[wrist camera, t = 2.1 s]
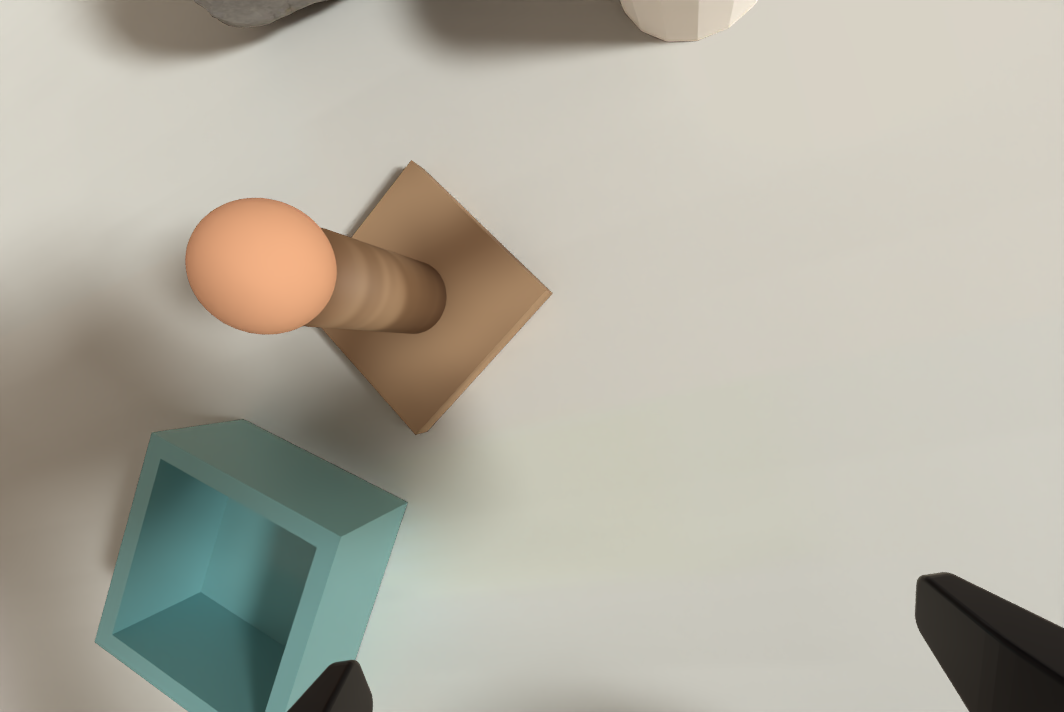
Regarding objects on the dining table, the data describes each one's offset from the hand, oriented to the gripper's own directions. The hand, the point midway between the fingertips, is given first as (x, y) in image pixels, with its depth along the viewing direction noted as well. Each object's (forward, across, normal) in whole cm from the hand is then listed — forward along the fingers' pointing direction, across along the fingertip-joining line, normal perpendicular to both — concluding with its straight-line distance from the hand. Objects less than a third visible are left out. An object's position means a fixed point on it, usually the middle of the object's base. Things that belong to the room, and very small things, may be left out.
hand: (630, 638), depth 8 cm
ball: (+9, +7, -6) cm, 13 cm away
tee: (+16, +6, -3) cm, 17 cm away
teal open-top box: (+14, +15, +7) cm, 21 cm away
